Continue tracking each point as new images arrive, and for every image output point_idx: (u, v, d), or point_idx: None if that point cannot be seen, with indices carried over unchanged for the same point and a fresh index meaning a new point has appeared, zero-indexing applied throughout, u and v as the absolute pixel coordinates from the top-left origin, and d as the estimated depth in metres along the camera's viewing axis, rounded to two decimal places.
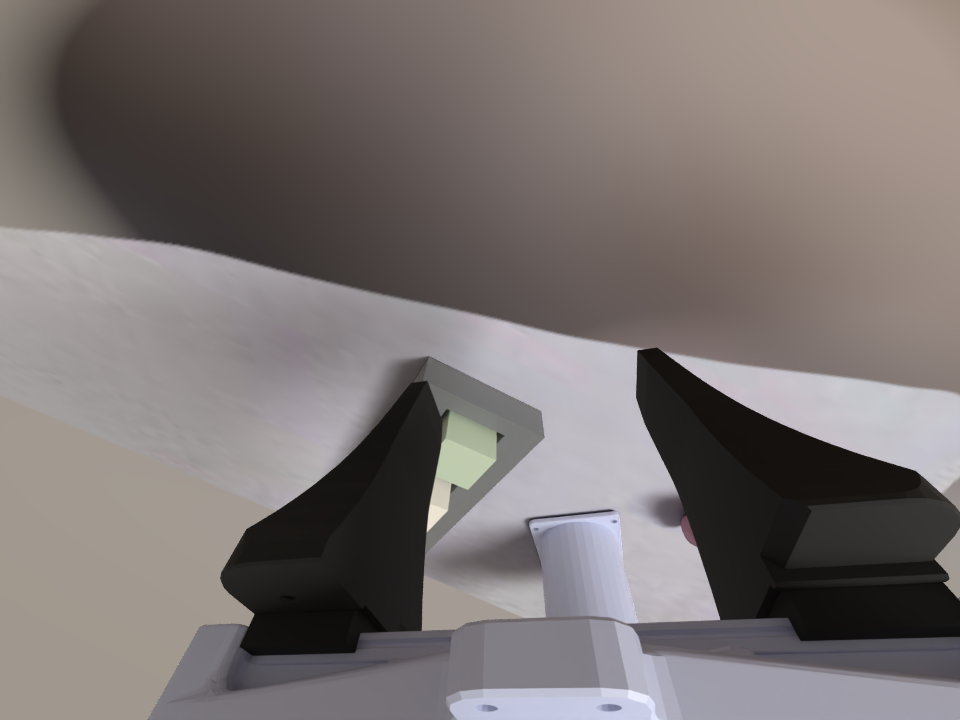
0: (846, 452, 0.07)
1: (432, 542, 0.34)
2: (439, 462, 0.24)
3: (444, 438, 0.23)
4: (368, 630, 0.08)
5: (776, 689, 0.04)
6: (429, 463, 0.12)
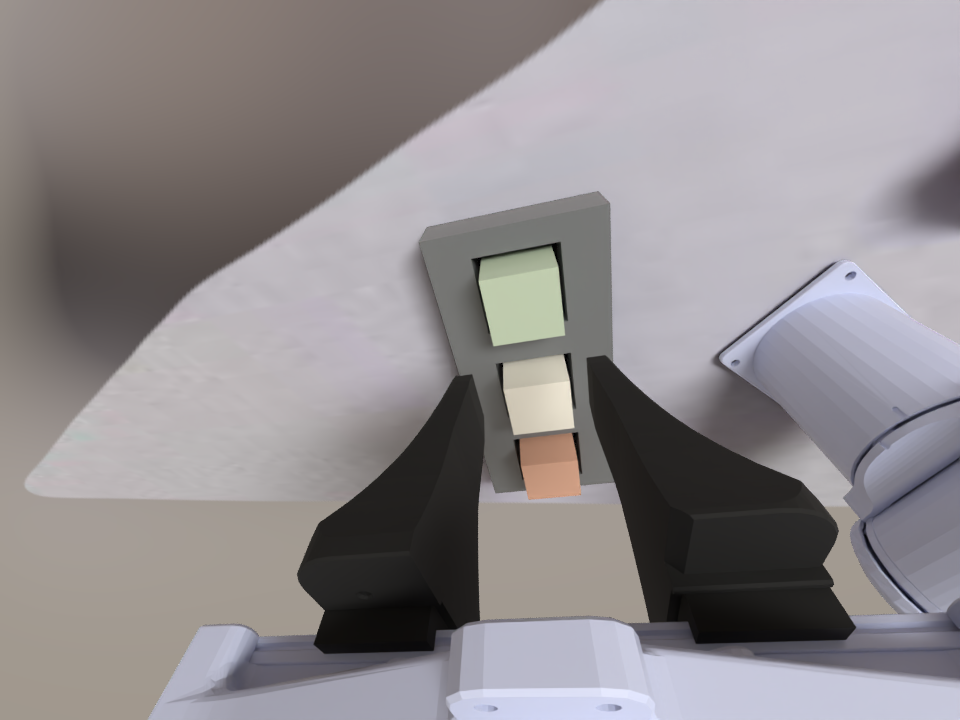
0: (747, 461, 0.07)
1: None
2: (501, 319, 0.18)
3: (479, 282, 0.18)
4: (442, 627, 0.08)
5: (776, 689, 0.04)
6: (476, 457, 0.12)
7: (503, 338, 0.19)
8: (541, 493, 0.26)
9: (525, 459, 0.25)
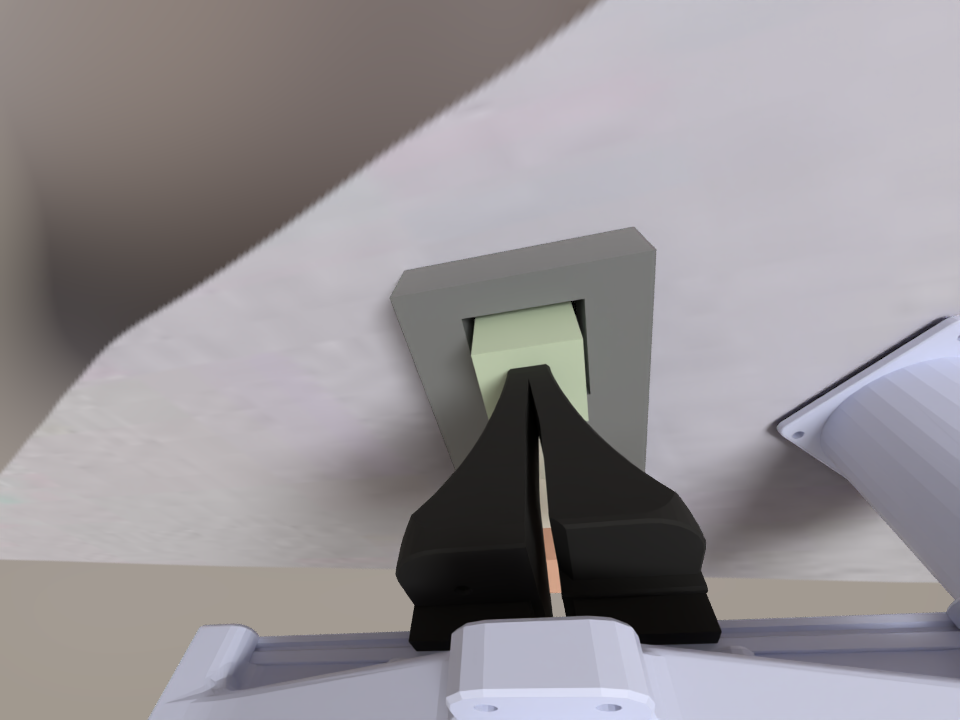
0: (637, 472, 0.07)
1: None
2: None
3: (471, 356, 0.13)
4: None
5: (776, 689, 0.04)
6: (536, 451, 0.12)
7: None
8: (551, 588, 0.21)
9: None
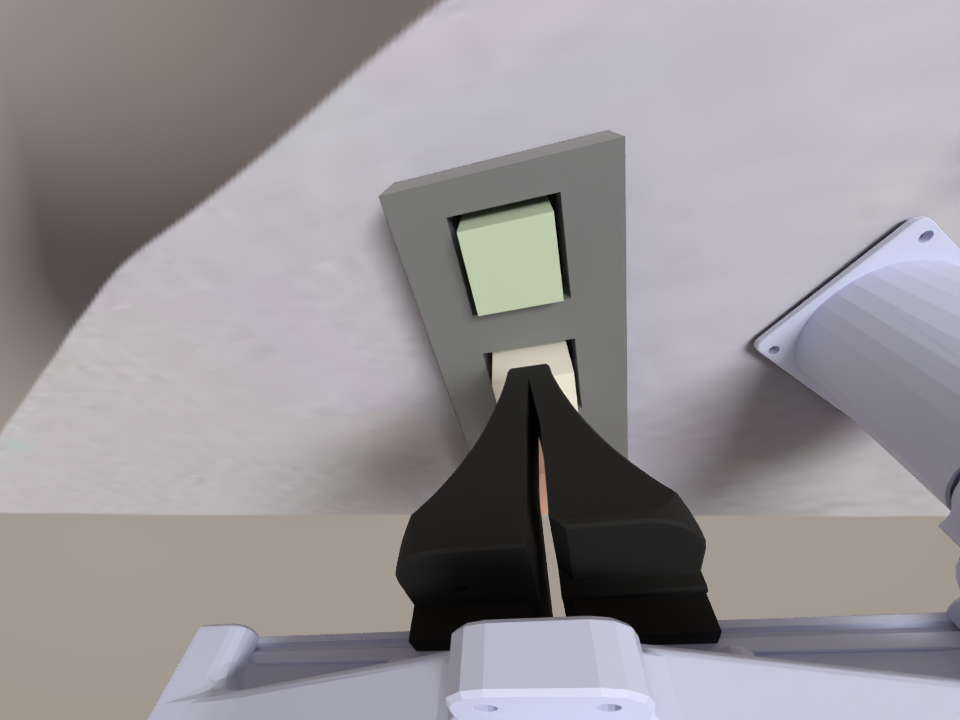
0: (637, 472, 0.07)
1: (622, 452, 0.22)
2: (486, 281, 0.15)
3: (458, 234, 0.14)
4: None
5: (776, 689, 0.04)
6: (536, 451, 0.12)
7: (489, 305, 0.16)
8: (541, 508, 0.22)
9: None
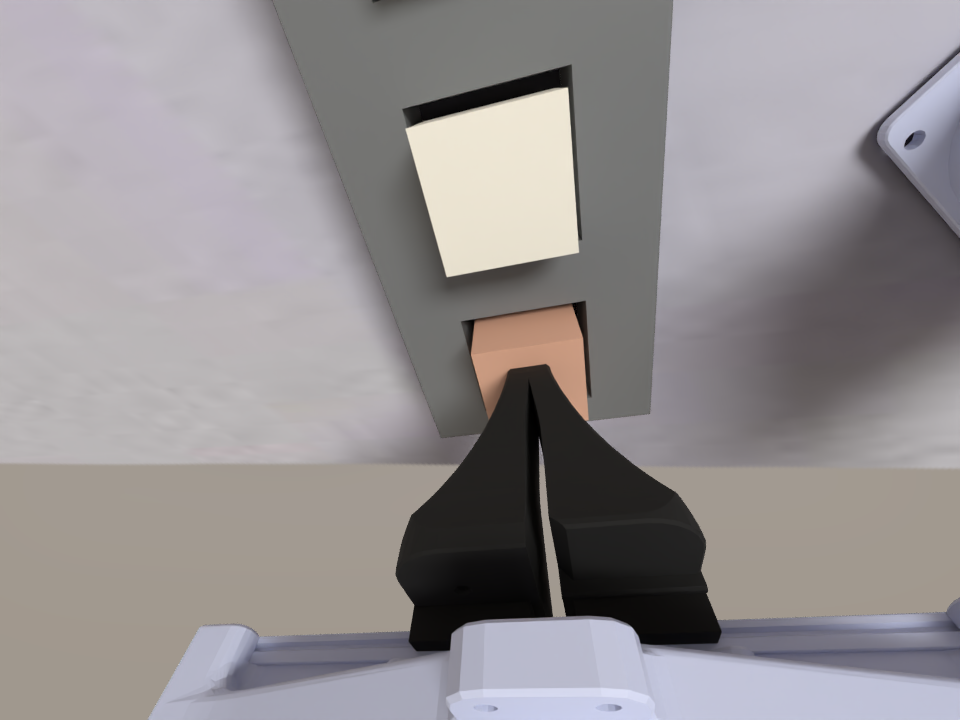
0: (637, 472, 0.07)
1: (645, 336, 0.14)
2: None
3: None
4: None
5: (776, 689, 0.04)
6: (536, 451, 0.12)
7: None
8: None
9: (482, 344, 0.13)
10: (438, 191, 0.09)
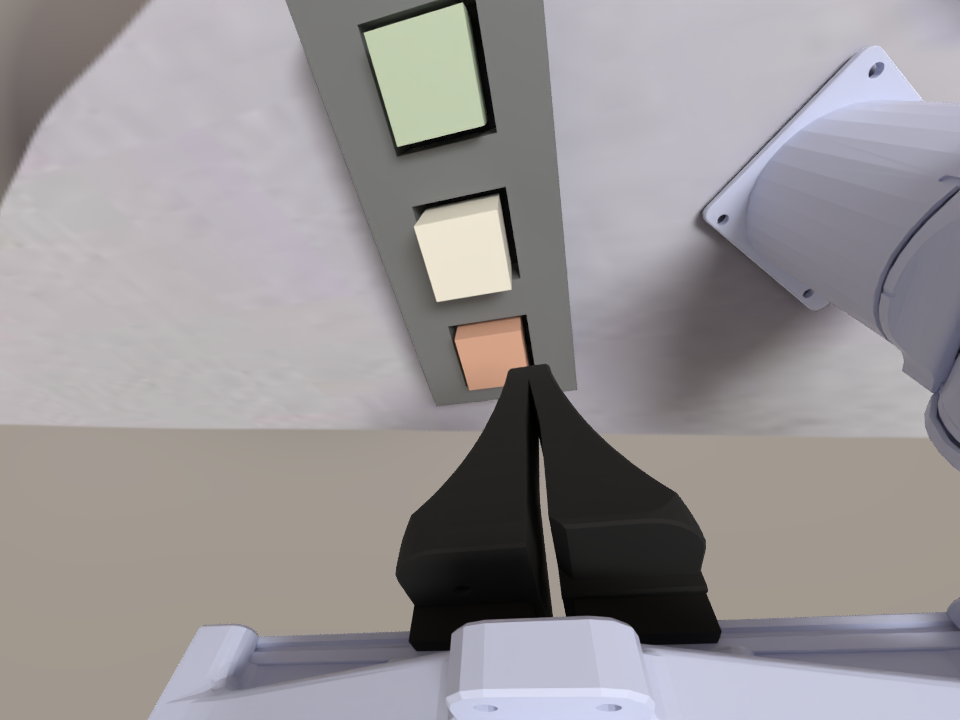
0: (637, 472, 0.07)
1: (566, 337, 0.21)
2: (401, 100, 0.14)
3: (366, 37, 0.14)
4: None
5: (776, 689, 0.04)
6: (536, 451, 0.12)
7: (408, 132, 0.15)
8: (483, 381, 0.22)
9: (461, 333, 0.21)
10: (431, 256, 0.17)
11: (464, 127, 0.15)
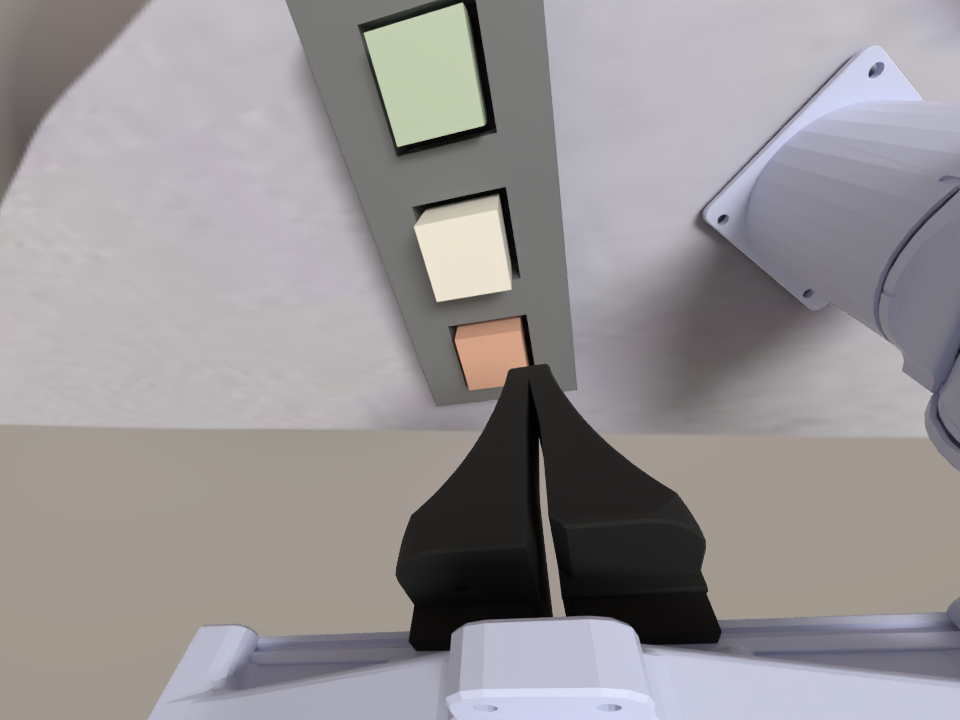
0: (637, 472, 0.07)
1: (566, 337, 0.21)
2: (401, 100, 0.14)
3: (366, 38, 0.14)
4: None
5: (776, 689, 0.04)
6: (536, 451, 0.12)
7: (408, 132, 0.15)
8: (483, 381, 0.22)
9: (461, 334, 0.21)
10: (431, 256, 0.17)
11: (464, 127, 0.15)
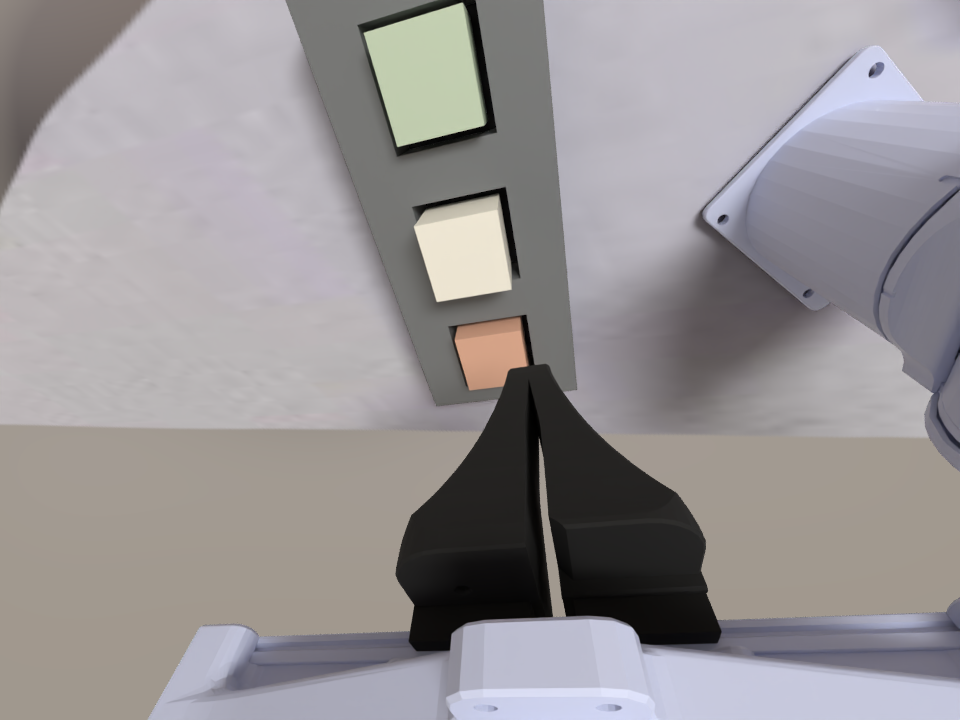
0: (637, 472, 0.07)
1: (566, 337, 0.21)
2: (401, 100, 0.14)
3: (366, 38, 0.14)
4: None
5: (776, 689, 0.04)
6: (536, 451, 0.12)
7: (408, 132, 0.15)
8: (483, 381, 0.22)
9: (461, 334, 0.21)
10: (431, 256, 0.17)
11: (464, 127, 0.15)
